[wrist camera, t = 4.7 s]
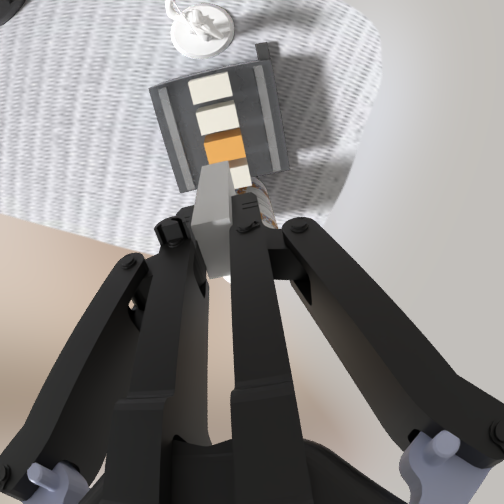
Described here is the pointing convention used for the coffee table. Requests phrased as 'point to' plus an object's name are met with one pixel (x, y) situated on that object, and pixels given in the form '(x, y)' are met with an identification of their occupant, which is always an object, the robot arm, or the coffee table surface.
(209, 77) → the cream rectangular block
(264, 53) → the dark grey slat
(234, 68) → the breaker panel
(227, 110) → the paddle
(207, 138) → the paddle
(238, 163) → the cream small block
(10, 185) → the coffee table surface
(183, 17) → the figurine
